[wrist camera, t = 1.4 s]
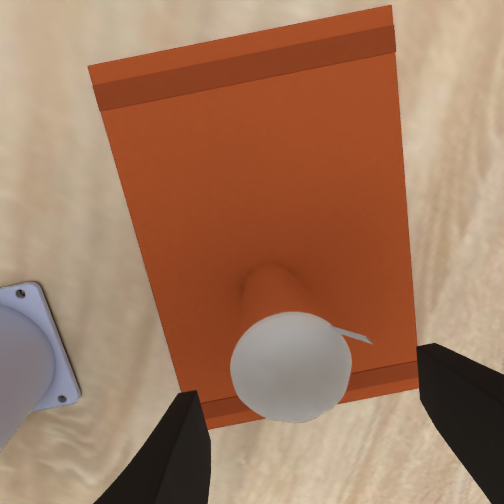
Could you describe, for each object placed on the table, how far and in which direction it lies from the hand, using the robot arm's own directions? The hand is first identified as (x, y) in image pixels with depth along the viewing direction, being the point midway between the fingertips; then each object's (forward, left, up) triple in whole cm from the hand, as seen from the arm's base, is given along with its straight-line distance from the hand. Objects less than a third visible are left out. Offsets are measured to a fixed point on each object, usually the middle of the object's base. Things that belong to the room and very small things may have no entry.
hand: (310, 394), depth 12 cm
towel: (+1, +2, -10) cm, 11 cm away
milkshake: (0, 0, -10) cm, 10 cm away
